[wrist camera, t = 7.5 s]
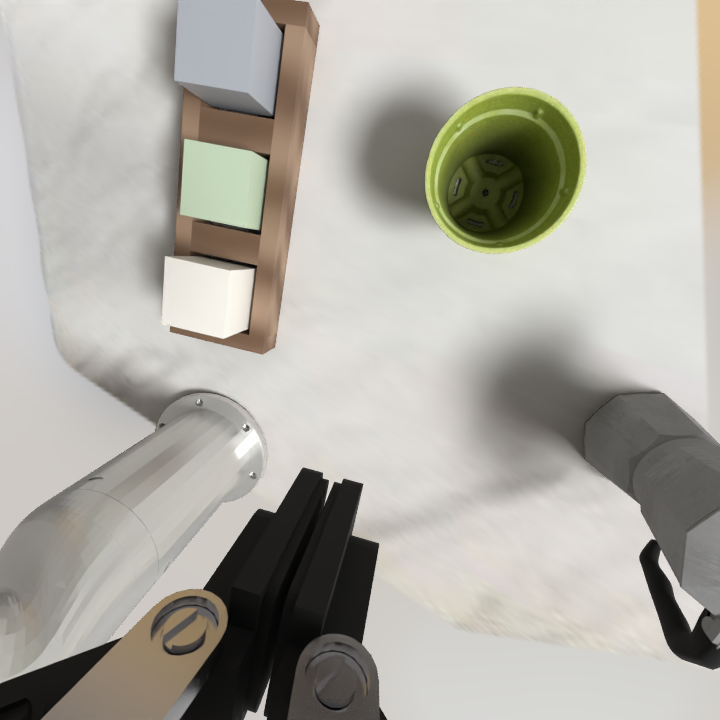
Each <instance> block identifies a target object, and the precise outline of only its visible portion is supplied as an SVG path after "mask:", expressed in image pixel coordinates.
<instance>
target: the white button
mask: <svg viewBox="0 0 720 720" xmlns="http://www.w3.org/2000/svg"><path fill="white" fill-rule="evenodd" d="M256 273H257V268H252V267H248V266H243V265H239V264H234V263H230V262H225V261H220V260H216V259H211V258H207V257H202V256H165V266H164V285H163V305H162V324H165V325H169V326H173V327H177V328H181V329H185V330H189V331H193V332H197V333H201V334H205V335H210V336H214V337H218V338H222V339H224V338H227V337H229V336H232V335H234V334H237V333H239V332H242V331H244V330H247V329H249V328H250V323H251V315H252V306H253V298H254V289H255V281H256Z"/></svg>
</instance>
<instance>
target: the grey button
mask: <svg viewBox="0 0 720 720" xmlns="http://www.w3.org/2000/svg"><path fill="white" fill-rule="evenodd" d="M283 44H284V35H283V34H282V32H281V31H280V29H279V28H278V26H277V25H276V23H275V22H274V20H273V19H272V17H271V16H270V14H269V13H268V11H267V10H266V8H265V7H264V5H263V4H262V2H261V1H260V0H178V11H177V31H176V50H175V70H174V81H176V82H177V83H179V84H180V85H182V86H183V87H184V88H186V89H187V90H189V91H190V92H192V93H193V94H195V95H196V96H198V97H199V98H201V99H202V100H203V101H205V102H206V103H208V104H209V105H211V106H213V107H219V108H225V109H230V110H236V111H242V112H247V113H253V114H259V115H265V116H270V117H275V112H276V103H277V95H278V86H279V78H280V69H281V61H282V52H283Z"/></svg>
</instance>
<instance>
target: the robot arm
mask: <svg viewBox="0 0 720 720" xmlns="http://www.w3.org/2000/svg"><path fill="white" fill-rule="evenodd" d="M266 461H267V448H266V444H265V440H264V437H263V434H262V432H261V430H260V428H259V426H258V425H257V423H256V422H255V420H254V419H253V418H252V416H251V415H250V414H249V413H248V412H247V411H246V410H245V409H244V408H242V407H241V406H240V405H238V404H237V403H236V402H234V401H232V400H230V399H228V398H226V397H223V396H220V395H217V394H212V393H194V394H190V395H186V396H184V397H182V398H180V399H178V400H176V401H175V402H173V403H172V404H170V405H169V406H168V407H167V408H166V409H165V410H164V411H163V413H162V414H161V416H160V418H159V420H158V422H157V426H156V429H155V432H154V433H153V434H151V435H149V436H148V437H146V438H144V439H143V440H141V441H140V442H138V443H137V444H135V445H133V446H132V447H131V448H129V449H127V450H126V451H124V452H123V453H121V454H119V455H118V456H116V457H115V458H113V459H112V460H110V461H109V462H107V463H105V464H104V465H102V466H101V467H99V468H98V469H96V470H95V471H93V472H91V473H90V474H88V475H87V476H85V477H84V478H82V479H81V480H79V481H77V482H76V483H74V484H73V485H71V486H70V487H68V488H66V489H65V490H63V491H62V492H60V493H59V494H57V495H56V496H54V497H53V498H51V499H50V500H48V501H46V502H45V503H43V504H42V505H40V506H39V507H38V508H36V509H35V510H34V511H33V512H31V513H30V514H29V515H28V516H27V517H26V518H25V519H24V520H23V521H22V522H21V523H20V524H19V525H18V526H17V527H16V528H15V530H14V531H13V532H12V533H11V535H10V536H9V537H8V539H7V540H6V542H5V544H4V545H3V547H2V548H1V550H0V720H244V718H245V715H246V713H247V710H249V711H252V712H255V713H256V712H257V710H258V708H259V705H260V703H261V700H262V697H263V695H264V692H265V689H266V687H267V684H268V682H269V679H270V683H269V688H268V694H267V699H266V705H265V710H264V716H266V717H267V720H387V719H386V717H385V715H384V713H383V712H382V711H381V709H380V707H379V679H378V673H377V668H376V665H375V663H374V660H373V658H372V656H371V654H370V653H369V652H368V651H367V650H366V648H365V647H364V646H363V645H362V640H363V634H364V629H365V623H366V617H367V612H368V606H369V600H370V594H371V588H372V582H373V577H374V571H375V566H376V560H377V554H378V548H379V543H376V542H372V541H369V540H365V539H362V538H359V537H355V536H352V531H353V527H354V522H355V518H356V514H357V509H358V505H359V501H360V496H361V492H362V488H363V484H362V483H358V482H354V481H351V480H347V479H343V481H342V484H340V483H337V482H334V484H333V487H332V489H331V491H330V494H329V496H328V498H327V501H326V503H325V499H326V494H327V489H328V484H329V480H326V479H322V478H323V473H322V472H318V471H314V470H311V469H307V468H302V470H301V471H300V473H299V475H298V476H297V478H296V480H295V481H294V483H293V485H292V486H291V488H290V490H289V491H288V493H287V495H286V496H285V498H284V500H283V501H282V503H281V505H280V506H279V508H278V510H277V512H276V513H273V512H270V511H266V510H263V509H258V510H257V511H256V513H254V515H253V516H252V518H251V519H250V521H249V522H248V524H247V525H246V527H245V528H244V530H243V531H242V533H241V534H240V535H239V537H238V538H237V540H236V541H235V543H234V544H233V546H232V547H231V549H230V550H229V552H228V553H227V555H226V556H225V558H224V559H223V561H222V562H221V563H220V565H219V566H218V568H217V569H216V571H215V572H214V574H213V575H212V577H211V578H210V580H209V581H208V583H207V584H206V585H205V587H204V589H203V590H202V589H188V590H184V591H179V592H176V593H174V594H172V595H170V596H167V597H165V598H164V599H163V600H161V601H160V602H159V603H158V604H156V605H155V606H154V607H153V608H152V609H151V610H150V611H149V612H148V613H147V614H146V615H145V616H144V617H143V618H142V619H141V620H140V621H139V622H138V623H137V624H136V625H135V626H134V627H133V628H132V629H131V630H130V631H129V632H128V633H127V634H126V635H125V636H124V637H122V638H119V639H117V640H114V641H111V642H109V643H107V641H108V640H109V639H110V638H111V636H112V635H113V634H114V633H115V631H116V630H117V629H118V628H119V626H120V625H121V624H122V623H123V621H124V620H125V619H126V618H127V616H128V615H129V614H130V613H131V611H132V610H133V609H134V608H135V607H136V605H137V604H138V603H139V602H140V601H141V599H142V598H143V597H144V596H145V595H146V593H147V592H148V591H149V590H150V589H151V587H152V586H153V585H154V584H155V583H156V581H157V580H158V579H159V578H160V577H161V575H162V574H163V573H164V572H165V571H166V569H167V568H168V567H169V566H170V565H171V564H172V562H173V561H174V560H175V559H176V558H177V556H178V555H179V554H180V553H181V552H182V550H183V549H184V548H185V547H186V546H187V544H188V543H189V542H190V541H191V540H192V538H193V537H194V536H195V535H196V534H197V533H198V531H199V530H200V529H201V528H202V527H203V525H204V524H205V523H206V522H207V520H208V519H209V518H210V517H211V516H212V515H213V513H214V512H215V511H216V510H217V508H218V507H219V506H220V505H221V504H222V503H223V502H229V501H234V500H237V499H239V498H241V497H243V496H245V495H246V494H248V493H249V492H250V491H251V490H252V489H253V488H254V487H255V486H256V484H257V483H258V482H259V480H260V479H261V477H262V475H263V473H264V470H265V467H266ZM324 504H325V506H324ZM270 676H271V677H270Z"/></svg>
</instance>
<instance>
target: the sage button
mask: <svg viewBox="0 0 720 720" xmlns="http://www.w3.org/2000/svg"><path fill="white" fill-rule="evenodd" d="M268 171H269V161H268V160H266V159H264V158H263V157H261V156H259V155H258V154H256V153H254V152H252V151H248V150H242V149H237V148H232V147H226V146H221V145H215V144H210V143H205V142H199V141H194V140H189V139H184V153H183V170H182V186H181V203H180V214H181V215H185V216H190V217H195V218H200V219H205V220H209V221H214V222H219V223H224V224H228V225H233V226H238V227H243V228H249V229H256V230H262V222H263V213H264V205H265V196H266V188H267V179H268Z"/></svg>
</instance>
